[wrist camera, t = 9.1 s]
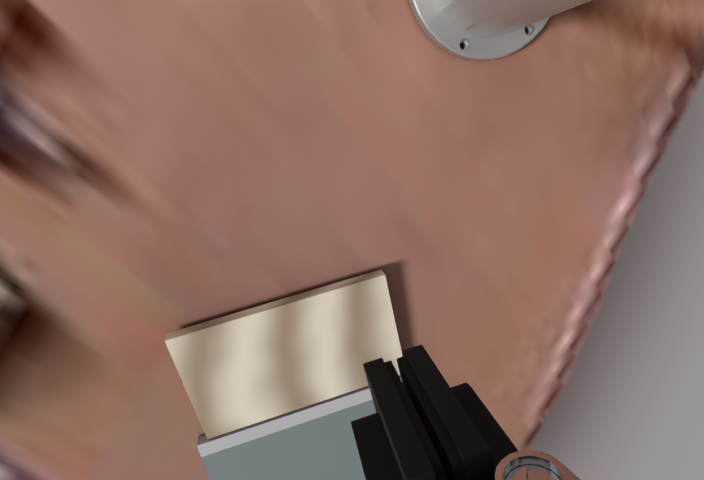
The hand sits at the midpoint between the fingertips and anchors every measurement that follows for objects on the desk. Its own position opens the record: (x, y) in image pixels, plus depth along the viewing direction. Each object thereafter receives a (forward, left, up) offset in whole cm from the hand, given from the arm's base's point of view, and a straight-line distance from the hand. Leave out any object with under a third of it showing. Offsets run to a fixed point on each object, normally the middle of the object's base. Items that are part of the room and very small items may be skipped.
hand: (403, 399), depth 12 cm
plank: (+4, +11, -25) cm, 28 cm away
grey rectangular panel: (+4, +22, -26) cm, 34 cm away
